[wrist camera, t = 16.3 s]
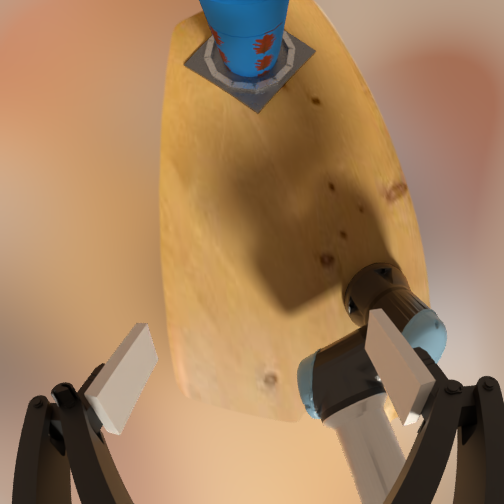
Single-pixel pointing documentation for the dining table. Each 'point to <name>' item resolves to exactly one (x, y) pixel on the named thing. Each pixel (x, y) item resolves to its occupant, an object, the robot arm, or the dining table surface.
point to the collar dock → (258, 87)
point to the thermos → (247, 32)
